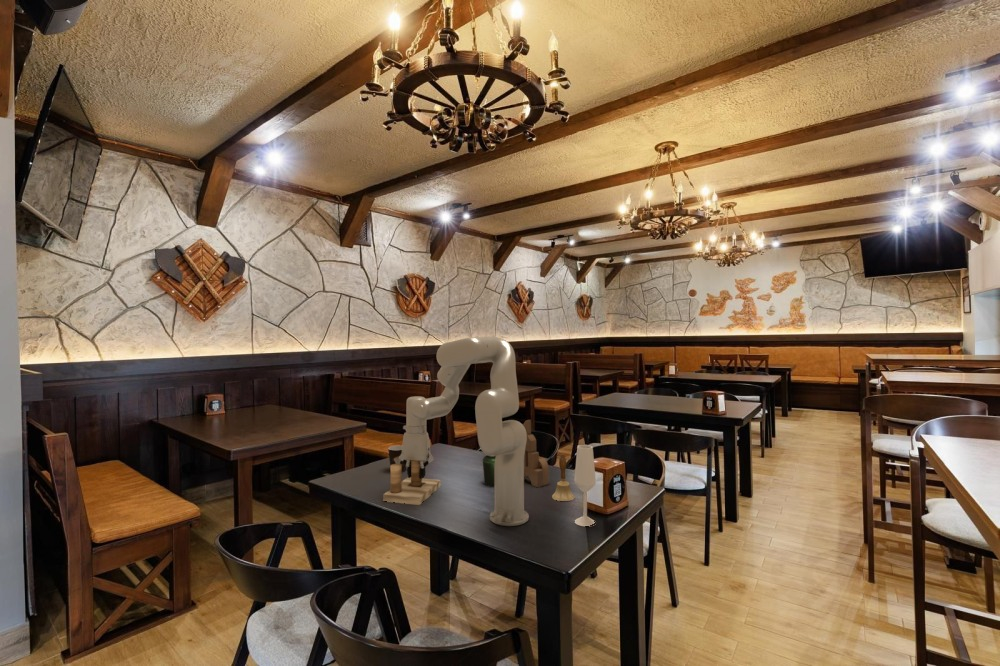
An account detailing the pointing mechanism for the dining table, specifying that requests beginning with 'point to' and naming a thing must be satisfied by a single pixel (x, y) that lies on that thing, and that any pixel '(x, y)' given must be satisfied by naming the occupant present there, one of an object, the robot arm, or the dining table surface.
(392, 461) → the coffee mug
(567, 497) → the hand bell
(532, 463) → the wooden toy
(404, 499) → the board
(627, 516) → the dining table surface
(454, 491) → the dining table surface
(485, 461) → the potion bottle
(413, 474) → the peg
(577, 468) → the champagne flute
